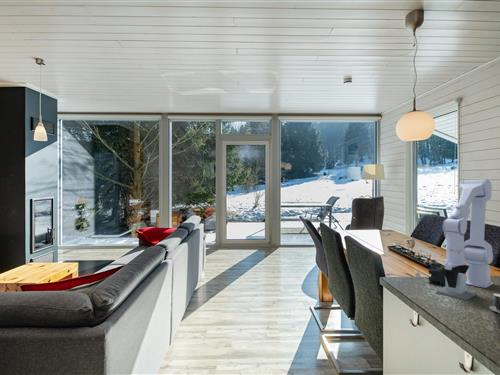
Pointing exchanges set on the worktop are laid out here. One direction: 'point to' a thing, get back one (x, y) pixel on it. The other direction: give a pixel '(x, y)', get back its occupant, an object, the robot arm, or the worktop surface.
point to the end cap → (436, 275)
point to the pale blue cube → (458, 284)
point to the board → (464, 296)
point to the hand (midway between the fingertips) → (456, 285)
